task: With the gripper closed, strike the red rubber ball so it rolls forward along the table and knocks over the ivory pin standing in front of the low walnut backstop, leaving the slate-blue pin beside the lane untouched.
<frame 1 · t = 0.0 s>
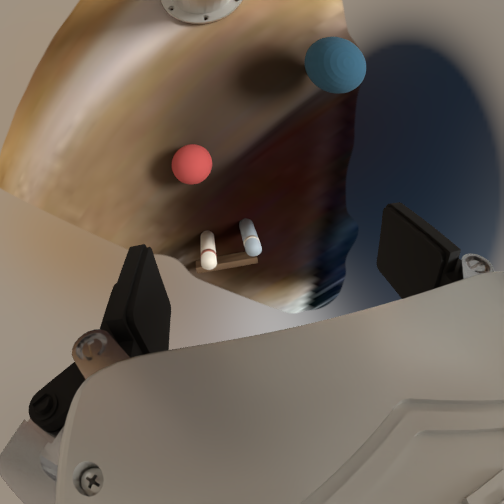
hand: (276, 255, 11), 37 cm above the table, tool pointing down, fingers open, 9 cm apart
ball: (191, 164, 41), on the table
blue ovoid piece: (314, 67, 39), on the table
backstop: (225, 257, 54), on the table
slate-blue pin: (245, 224, 51), on the table
ivory pin: (207, 236, 51), on the table
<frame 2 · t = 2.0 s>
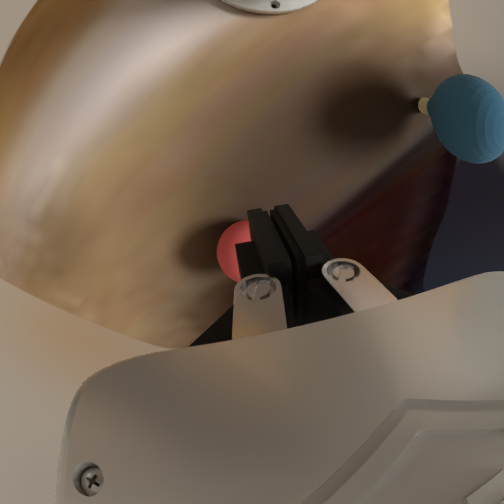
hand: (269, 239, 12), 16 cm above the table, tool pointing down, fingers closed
ball: (248, 251, 28), on the table
blue ovoid piece: (420, 104, 25), on the table
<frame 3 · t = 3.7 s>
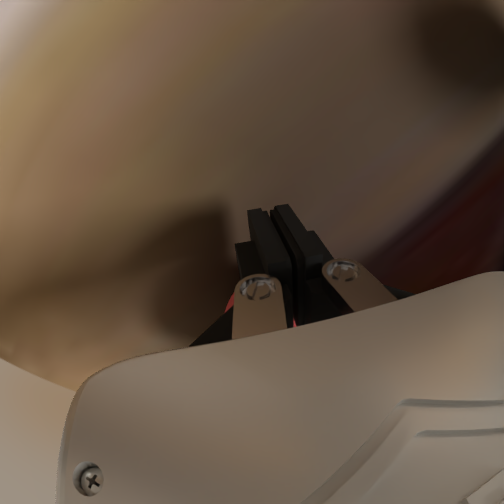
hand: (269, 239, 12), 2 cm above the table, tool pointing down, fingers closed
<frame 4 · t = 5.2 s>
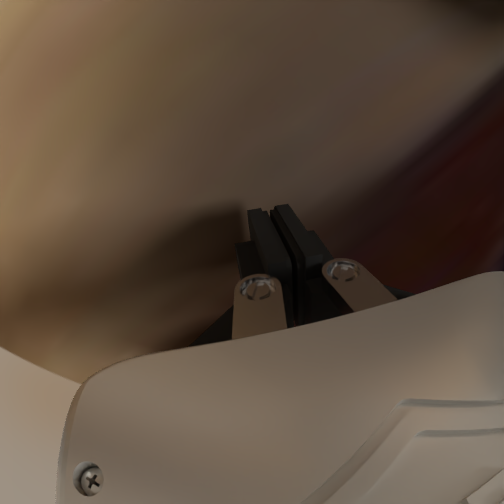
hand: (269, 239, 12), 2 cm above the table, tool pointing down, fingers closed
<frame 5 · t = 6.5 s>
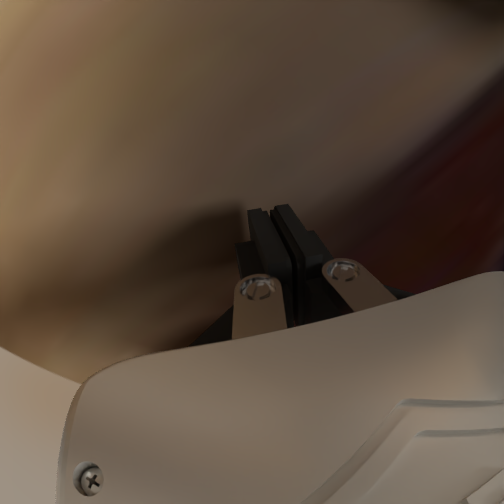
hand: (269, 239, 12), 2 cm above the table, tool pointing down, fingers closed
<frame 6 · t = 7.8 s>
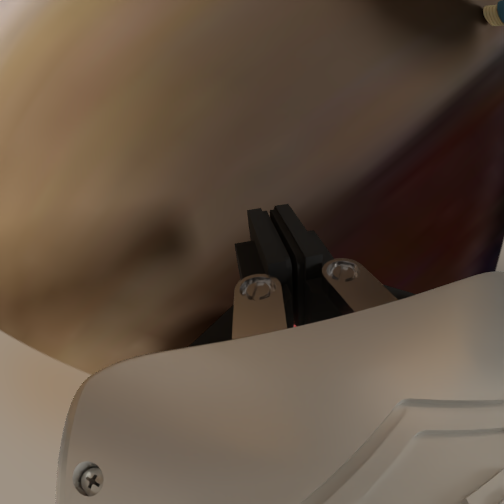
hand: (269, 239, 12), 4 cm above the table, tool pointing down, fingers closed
blue ovoid piece: (483, 16, 11), on the table
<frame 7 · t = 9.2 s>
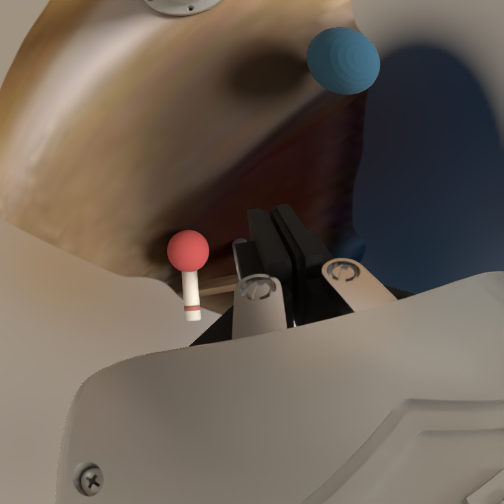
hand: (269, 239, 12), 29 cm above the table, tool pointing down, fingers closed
ball: (188, 251, 41), on the table
blue ovoid piece: (317, 64, 33), on the table
backstop: (217, 280, 49), on the table
slate-blue pin: (239, 244, 46), on the table
ivory pin: (188, 265, 45), point 1 cm above the table, tilted 53°
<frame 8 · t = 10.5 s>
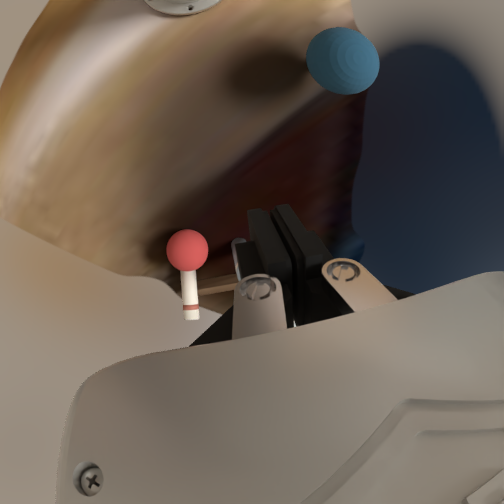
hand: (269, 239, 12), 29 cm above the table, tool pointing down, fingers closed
ball: (187, 250, 41), on the table
blue ovoid piece: (317, 64, 33), on the table
backstop: (216, 280, 49), on the table
slate-blue pin: (238, 244, 46), on the table
ivory pin: (187, 264, 45), point 1 cm above the table, tilted 53°, touching backstop
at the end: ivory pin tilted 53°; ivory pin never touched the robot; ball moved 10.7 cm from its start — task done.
